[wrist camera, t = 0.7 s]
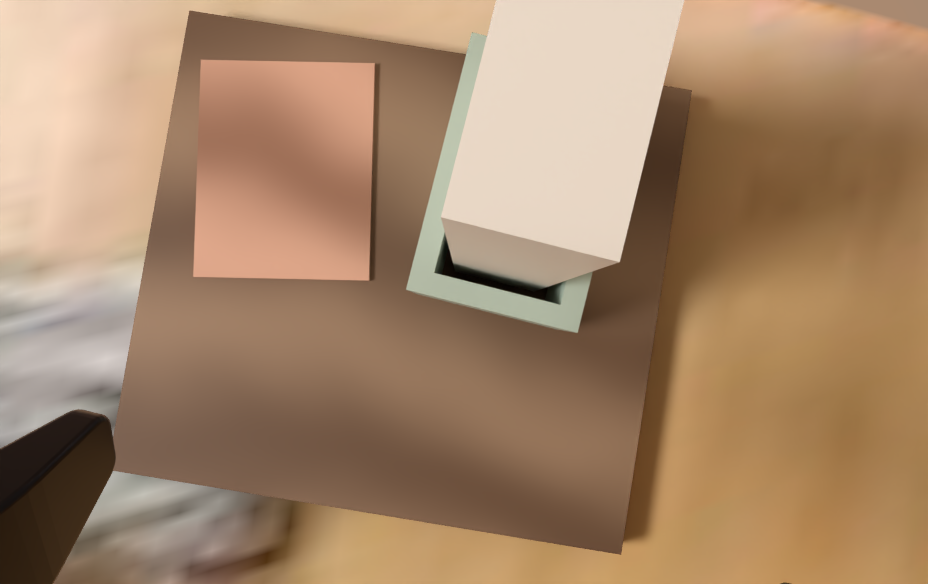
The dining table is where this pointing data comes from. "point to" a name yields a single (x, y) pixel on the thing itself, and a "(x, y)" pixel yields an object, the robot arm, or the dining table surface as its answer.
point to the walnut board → (370, 305)
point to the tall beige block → (556, 137)
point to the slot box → (432, 246)
